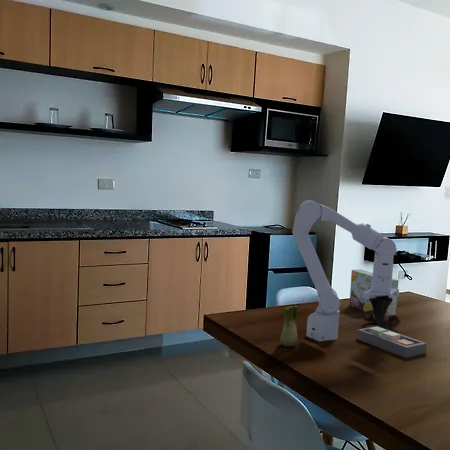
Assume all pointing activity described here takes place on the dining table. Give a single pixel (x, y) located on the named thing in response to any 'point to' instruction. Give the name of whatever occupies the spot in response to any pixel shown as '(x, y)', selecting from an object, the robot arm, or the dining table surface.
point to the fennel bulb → (289, 327)
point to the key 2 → (404, 342)
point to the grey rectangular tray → (393, 343)
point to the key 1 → (377, 331)
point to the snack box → (363, 283)
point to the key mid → (391, 336)
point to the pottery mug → (385, 323)
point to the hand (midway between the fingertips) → (378, 320)
